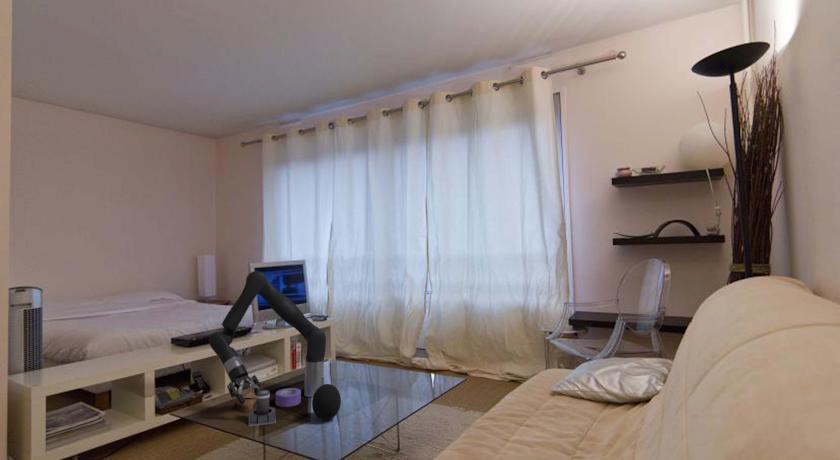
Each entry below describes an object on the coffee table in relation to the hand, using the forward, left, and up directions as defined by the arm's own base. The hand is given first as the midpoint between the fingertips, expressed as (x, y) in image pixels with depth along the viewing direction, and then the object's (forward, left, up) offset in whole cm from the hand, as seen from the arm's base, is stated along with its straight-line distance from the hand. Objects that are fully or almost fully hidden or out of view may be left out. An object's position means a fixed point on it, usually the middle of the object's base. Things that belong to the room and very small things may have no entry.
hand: (251, 400), depth 180 cm
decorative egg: (-31, +13, -7) cm, 34 cm away
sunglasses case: (+1, -18, -8) cm, 20 cm away
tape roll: (-17, -13, -8) cm, 22 cm away
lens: (-4, +5, -7) cm, 9 cm away
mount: (-5, +5, -7) cm, 10 cm away
